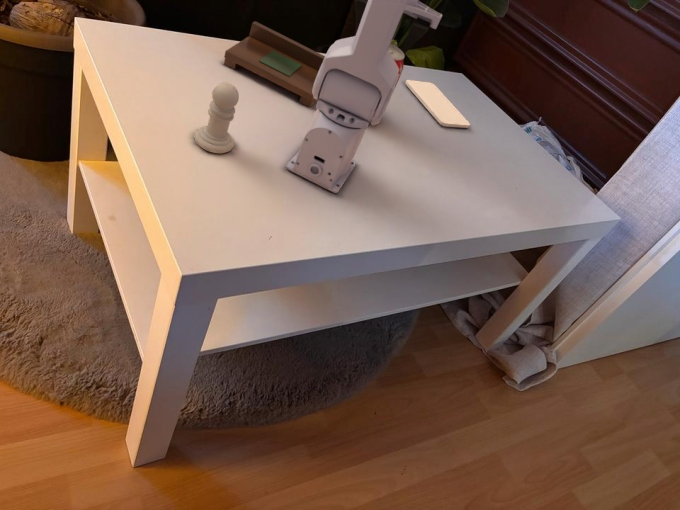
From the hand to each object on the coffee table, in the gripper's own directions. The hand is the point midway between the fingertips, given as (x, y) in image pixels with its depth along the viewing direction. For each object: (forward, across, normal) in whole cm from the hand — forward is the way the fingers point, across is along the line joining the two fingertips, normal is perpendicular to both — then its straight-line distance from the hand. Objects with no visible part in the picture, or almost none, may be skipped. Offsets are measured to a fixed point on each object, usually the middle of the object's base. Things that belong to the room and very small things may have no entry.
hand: (377, 50), depth 93 cm
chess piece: (+10, +14, +30) cm, 34 cm away
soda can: (+10, -2, +4) cm, 11 cm away
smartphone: (+10, -14, -14) cm, 22 cm away
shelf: (+10, +14, +4) cm, 17 cm away
